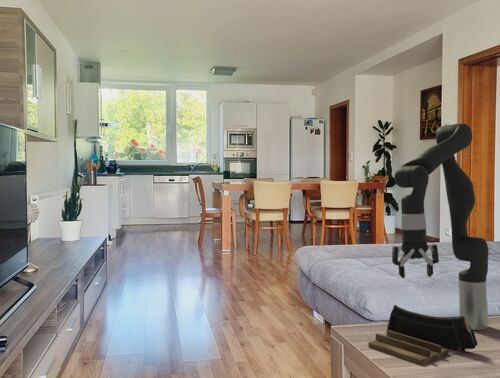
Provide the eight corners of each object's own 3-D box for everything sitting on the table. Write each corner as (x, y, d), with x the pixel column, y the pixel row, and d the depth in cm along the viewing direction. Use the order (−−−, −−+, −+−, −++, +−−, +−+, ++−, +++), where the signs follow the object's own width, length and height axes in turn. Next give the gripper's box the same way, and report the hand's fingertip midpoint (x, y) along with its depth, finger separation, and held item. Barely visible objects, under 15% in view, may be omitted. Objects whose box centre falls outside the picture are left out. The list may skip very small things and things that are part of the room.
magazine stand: (395, 337, 160) (395, 327, 160) (448, 354, 144) (448, 343, 144) (368, 346, 152) (368, 336, 152) (421, 365, 136) (420, 353, 136)
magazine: (380, 307, 167) (458, 296, 145) (385, 306, 169) (463, 294, 147) (393, 356, 163) (475, 352, 141) (398, 354, 165) (480, 349, 144)
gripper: (431, 225, 153) (433, 273, 153) (388, 227, 153) (390, 275, 154) (440, 227, 145) (442, 278, 146) (394, 229, 146) (397, 280, 146)
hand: (416, 276), depth 150 cm, fingers open, 8 cm apart
